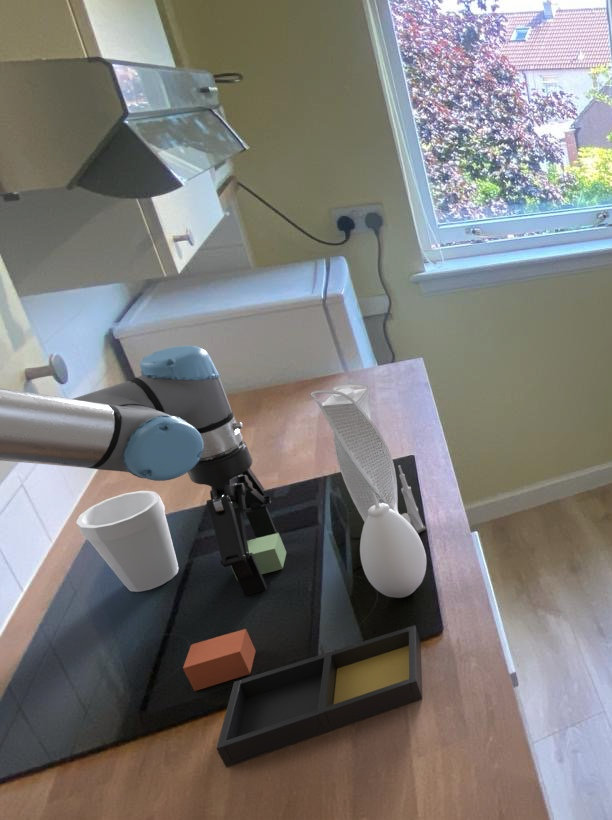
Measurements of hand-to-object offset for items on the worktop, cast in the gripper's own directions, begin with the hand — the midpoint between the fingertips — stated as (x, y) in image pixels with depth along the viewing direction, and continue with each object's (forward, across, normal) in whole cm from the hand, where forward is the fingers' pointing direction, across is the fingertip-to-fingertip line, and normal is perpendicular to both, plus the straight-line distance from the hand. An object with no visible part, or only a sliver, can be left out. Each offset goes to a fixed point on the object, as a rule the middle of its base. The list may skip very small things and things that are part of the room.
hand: (263, 565), depth 116 cm
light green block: (0, 0, 0) cm, 0 cm away
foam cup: (0, +5, +15) cm, 16 cm away
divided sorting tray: (0, -35, -12) cm, 37 cm away
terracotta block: (0, -23, +1) cm, 23 cm away
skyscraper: (0, 0, -18) cm, 18 cm away
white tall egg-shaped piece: (0, -18, -20) cm, 27 cm away
